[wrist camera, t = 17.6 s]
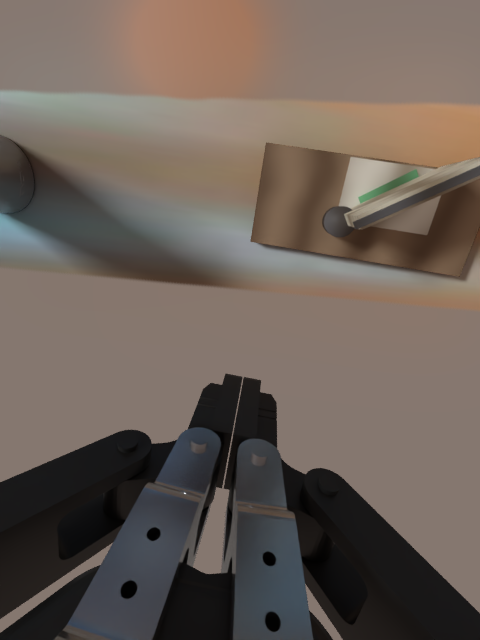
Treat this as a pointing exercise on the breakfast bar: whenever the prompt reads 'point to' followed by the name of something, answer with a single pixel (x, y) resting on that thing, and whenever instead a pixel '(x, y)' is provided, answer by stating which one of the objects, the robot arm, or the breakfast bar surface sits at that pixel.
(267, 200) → the brown rectangular board
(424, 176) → the dark-edged wooden panel
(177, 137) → the breakfast bar surface
